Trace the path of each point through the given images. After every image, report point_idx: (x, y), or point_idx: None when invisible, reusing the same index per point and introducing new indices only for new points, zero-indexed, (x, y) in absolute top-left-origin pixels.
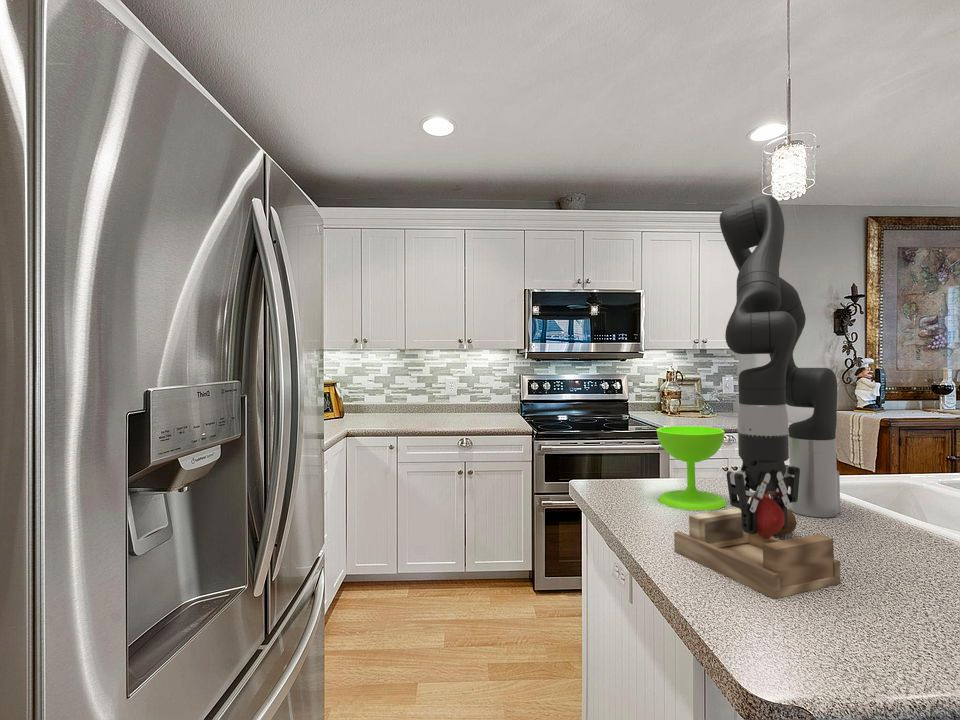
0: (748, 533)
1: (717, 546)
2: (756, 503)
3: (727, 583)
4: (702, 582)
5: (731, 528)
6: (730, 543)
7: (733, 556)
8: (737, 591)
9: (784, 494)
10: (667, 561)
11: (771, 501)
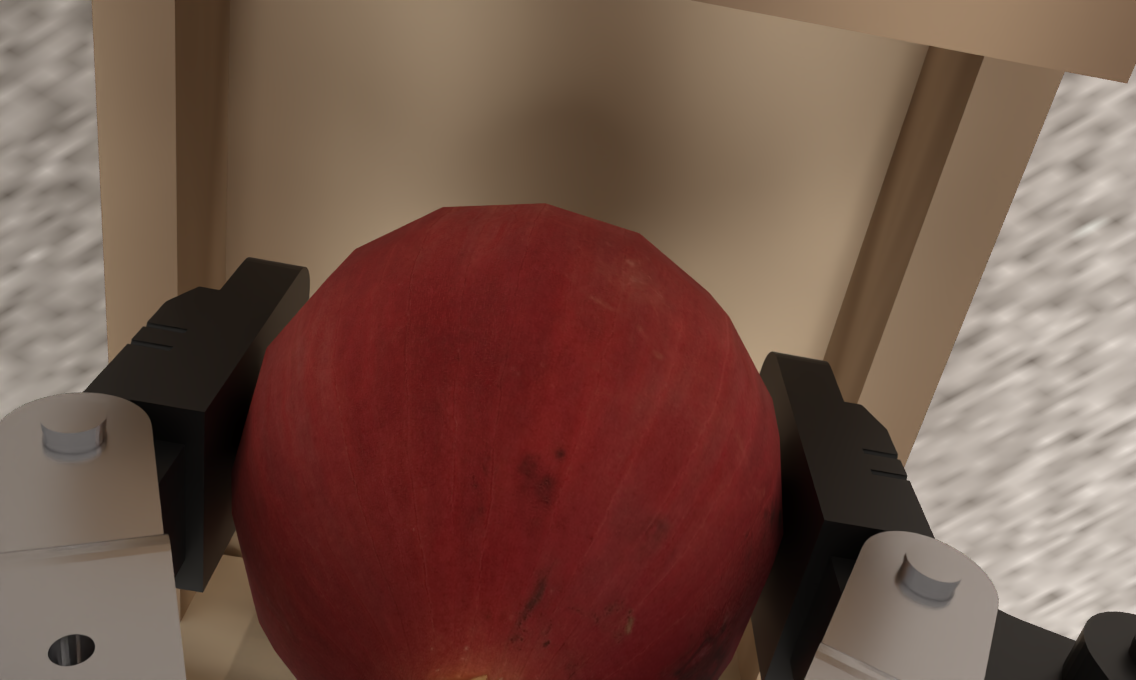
0: (192, 607)
1: None
2: (872, 627)
3: (1011, 239)
4: (1133, 352)
5: None
6: None
7: (922, 355)
8: (1115, 103)
9: (107, 547)
10: None
11: (507, 547)
